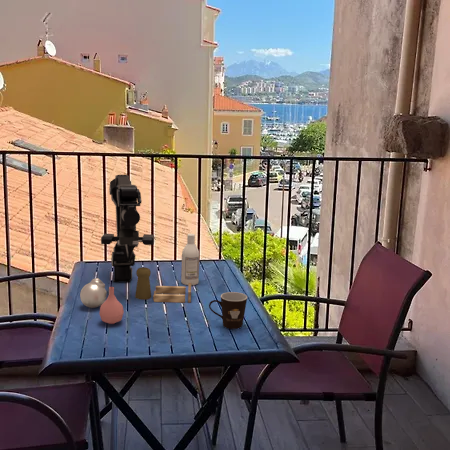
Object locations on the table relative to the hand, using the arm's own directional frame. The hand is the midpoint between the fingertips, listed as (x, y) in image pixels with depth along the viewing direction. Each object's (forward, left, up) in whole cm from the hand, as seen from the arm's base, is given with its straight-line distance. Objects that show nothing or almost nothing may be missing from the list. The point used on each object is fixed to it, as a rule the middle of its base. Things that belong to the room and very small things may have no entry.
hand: (128, 262), depth 206 cm
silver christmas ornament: (-10, -13, -13) cm, 21 cm away
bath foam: (+23, +15, -13) cm, 30 cm away
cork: (+6, -2, -13) cm, 14 cm away
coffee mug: (+36, -27, -13) cm, 46 cm away
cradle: (+16, -2, -13) cm, 21 cm away
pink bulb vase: (-2, -27, -13) cm, 30 cm away
